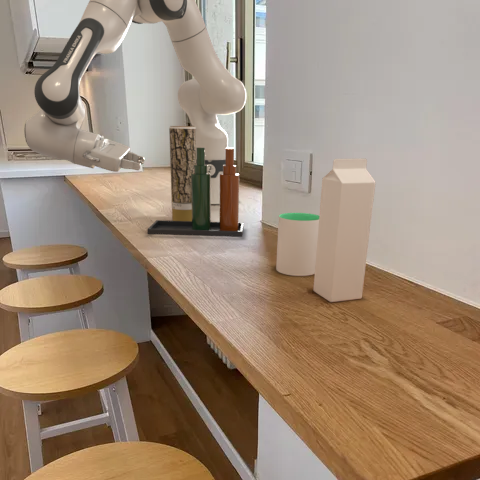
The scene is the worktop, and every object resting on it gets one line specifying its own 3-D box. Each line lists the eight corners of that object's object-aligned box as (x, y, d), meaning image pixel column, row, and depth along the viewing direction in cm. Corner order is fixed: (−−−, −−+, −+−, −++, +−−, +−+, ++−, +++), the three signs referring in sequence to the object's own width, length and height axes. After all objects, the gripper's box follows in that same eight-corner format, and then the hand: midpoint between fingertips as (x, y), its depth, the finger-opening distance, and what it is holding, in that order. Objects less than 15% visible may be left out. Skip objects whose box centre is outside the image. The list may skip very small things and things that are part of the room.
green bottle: (193, 228, 128) (191, 146, 120) (211, 228, 128) (211, 147, 120) (190, 232, 124) (189, 147, 116) (209, 232, 124) (209, 148, 116)
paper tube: (186, 226, 133) (184, 126, 123) (167, 223, 136) (163, 126, 127) (201, 222, 138) (200, 126, 129) (182, 219, 142) (180, 125, 132)
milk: (312, 291, 85) (322, 157, 77) (343, 288, 87) (355, 156, 79) (331, 303, 80) (343, 160, 72) (362, 299, 82) (378, 159, 74)
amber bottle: (220, 229, 128) (220, 147, 120) (238, 229, 128) (240, 147, 120) (218, 233, 123) (219, 148, 116) (237, 233, 123) (239, 149, 116)
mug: (323, 261, 103) (327, 211, 99) (342, 272, 96) (348, 218, 92) (269, 265, 99) (272, 213, 95) (286, 277, 92) (289, 221, 88)
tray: (156, 227, 132) (156, 220, 131) (243, 229, 131) (243, 222, 130) (147, 236, 121) (147, 229, 120) (242, 239, 121) (242, 231, 120)
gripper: (82, 143, 119) (139, 158, 121) (98, 133, 137) (148, 146, 140) (79, 169, 122) (135, 183, 124) (95, 156, 140) (144, 168, 142)
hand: (142, 163), depth 132 cm, fingers open, 8 cm apart
